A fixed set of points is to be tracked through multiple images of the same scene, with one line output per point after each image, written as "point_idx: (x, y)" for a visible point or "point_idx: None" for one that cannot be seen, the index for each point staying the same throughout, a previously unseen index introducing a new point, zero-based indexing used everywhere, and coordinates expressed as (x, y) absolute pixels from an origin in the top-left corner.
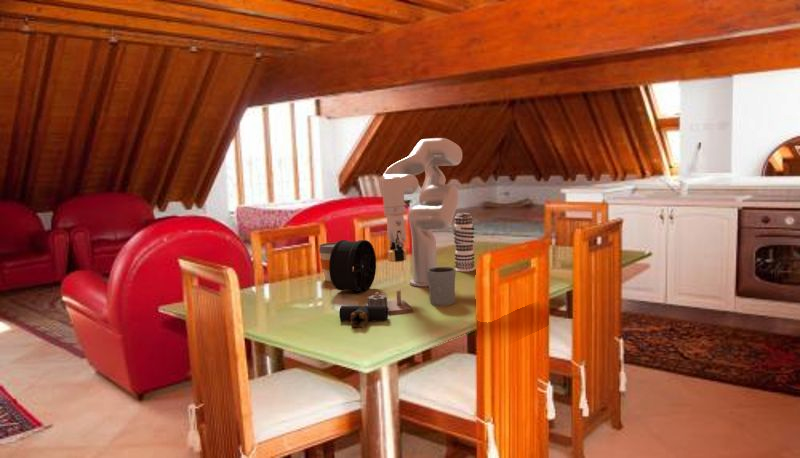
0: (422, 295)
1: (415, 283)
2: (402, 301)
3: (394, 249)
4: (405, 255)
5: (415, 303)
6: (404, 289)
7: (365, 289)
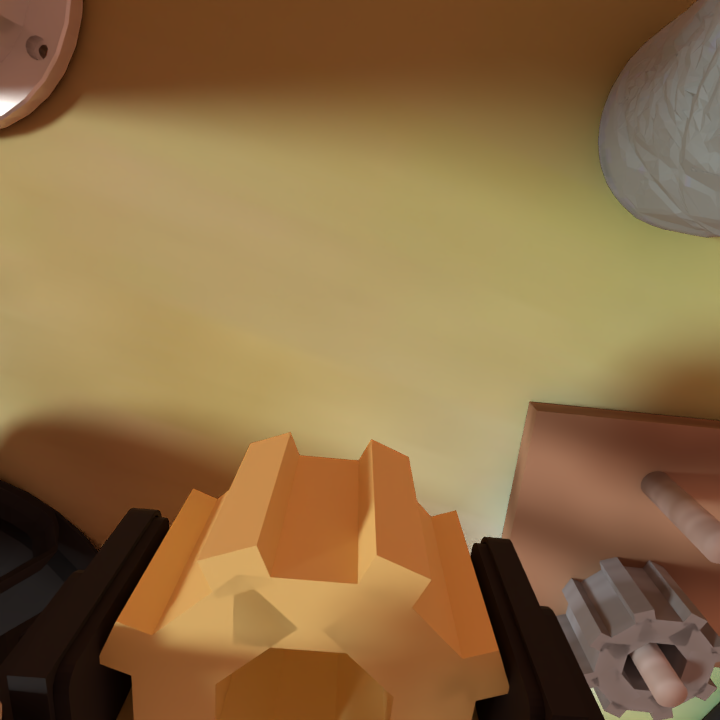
0: (378, 186)
1: (7, 107)
2: (577, 433)
3: (103, 702)
4: (413, 511)
5: (585, 331)
6: (105, 245)
7: (53, 523)
